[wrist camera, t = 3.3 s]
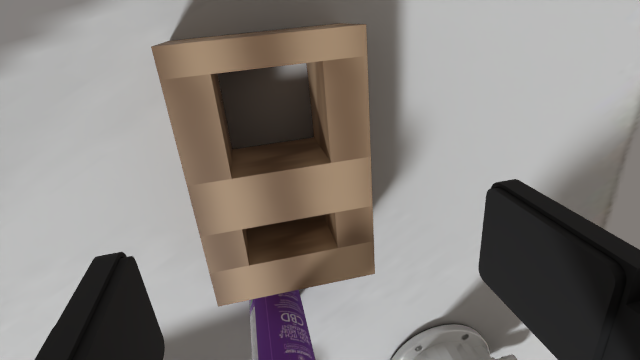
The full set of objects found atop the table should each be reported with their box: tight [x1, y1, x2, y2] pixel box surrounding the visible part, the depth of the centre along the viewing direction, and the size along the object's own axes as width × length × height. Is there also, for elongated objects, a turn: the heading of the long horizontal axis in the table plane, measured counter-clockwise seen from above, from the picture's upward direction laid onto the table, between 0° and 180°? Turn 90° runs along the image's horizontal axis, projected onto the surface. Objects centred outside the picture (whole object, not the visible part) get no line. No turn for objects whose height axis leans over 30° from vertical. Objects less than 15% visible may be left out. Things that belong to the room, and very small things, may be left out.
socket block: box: [151, 23, 375, 306], centre depth 27 cm, size 12×18×6 cm, turn 5°
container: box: [249, 290, 315, 360], centre depth 29 cm, size 5×5×15 cm
